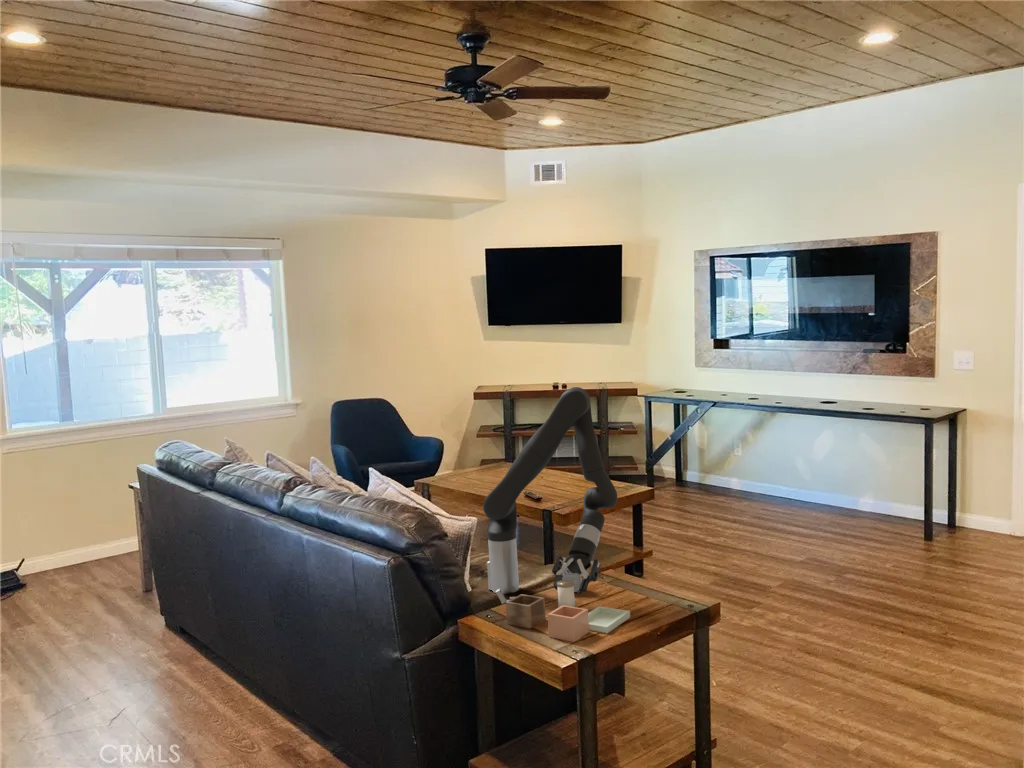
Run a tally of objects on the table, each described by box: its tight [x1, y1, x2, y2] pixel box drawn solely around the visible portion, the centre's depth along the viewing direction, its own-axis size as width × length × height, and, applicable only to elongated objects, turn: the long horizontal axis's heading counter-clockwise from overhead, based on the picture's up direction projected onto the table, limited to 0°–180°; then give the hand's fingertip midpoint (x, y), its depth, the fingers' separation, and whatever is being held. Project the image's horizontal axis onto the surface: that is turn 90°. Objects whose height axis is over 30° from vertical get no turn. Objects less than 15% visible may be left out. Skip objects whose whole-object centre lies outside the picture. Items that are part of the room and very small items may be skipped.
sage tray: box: [588, 605, 631, 634], centre depth 215 cm, size 10×14×2 cm
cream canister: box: [557, 580, 576, 608], centre depth 224 cm, size 5×5×10 cm
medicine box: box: [556, 562, 582, 593], centre depth 247 cm, size 8×4×9 cm, turn 84°
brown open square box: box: [505, 593, 546, 629], centre depth 219 cm, size 8×8×7 cm
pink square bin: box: [547, 605, 590, 643], centre depth 207 cm, size 8×8×7 cm
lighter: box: [495, 588, 516, 605], centre depth 227 cm, size 7×2×8 cm, turn 88°
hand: (568, 590), depth 225 cm, fingers open, 8 cm apart
